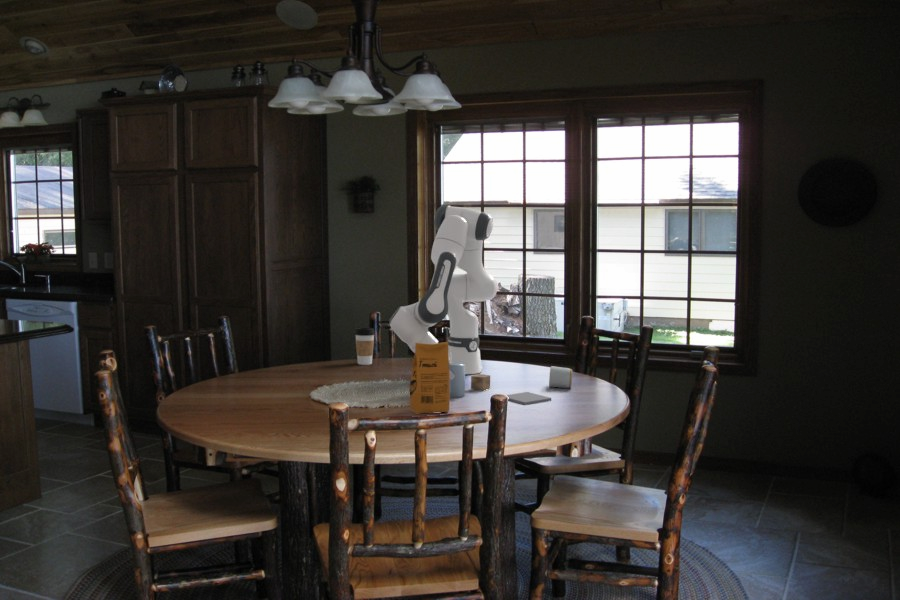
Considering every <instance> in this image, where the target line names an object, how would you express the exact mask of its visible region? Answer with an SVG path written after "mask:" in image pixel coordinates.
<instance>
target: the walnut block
mask: <svg viewBox="0 0 900 600" xmlns="http://www.w3.org/2000/svg"><path fill="white" fill-rule="evenodd" d="M470 380H471V381H470V390H471V389H473V391H478V390H481V391H480V392H485V391H487V390H486V389H488V390H490V389H491V375H489V374H484V373H483V374H482V373H476V374H472V375H471V376H470ZM489 388H490V389H489ZM484 390H485V391H484Z"/></svg>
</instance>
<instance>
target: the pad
mask: <svg viewBox="0 0 900 600" xmlns="http://www.w3.org/2000/svg"><path fill="white" fill-rule="evenodd" d="M506 395H507V396H508V397H509V400H510V402H513V401H514V403H517V402H518V404H520V403H521V405H524V404H527V405H531V403H532V404H537V402H538V403H543V402H542V401H544V402H549V401H548V400H550V401H552V397H550V396H545V395H541V394H537V393H533V392H529V391H524V392H518V393H512V394H506ZM509 400H508V401H509Z"/></svg>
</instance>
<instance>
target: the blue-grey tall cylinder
mask: <svg viewBox="0 0 900 600" xmlns="http://www.w3.org/2000/svg"><path fill="white" fill-rule="evenodd" d="M449 370H450V371H451V372H452V373H453V374H454V375H455V378H453V379H452V380H451V379H450V378H449V392H450V398H456V397H458V398H464V397H465V396H466V395H465V394H466V393H465V390H466V389H465V388H466V374H465V364H463V363H450V364H449Z"/></svg>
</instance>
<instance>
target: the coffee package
mask: <svg viewBox="0 0 900 600" xmlns="http://www.w3.org/2000/svg"><path fill="white" fill-rule="evenodd" d="M448 349H449V347H448V341H444V342H438V343H437V344H423V343H416V344H415V353H414V356H413V360H412V367H411V375H410V383H409V393H408V395H409V404H410V406H411V407H410V408H411V411H412V413H413V414H416V415H421V413H422V414H431V413H433V412H445V413H448V412H447V411H449V412H450V398H451V397H450V392H449V375H450V372H449V356H448Z"/></svg>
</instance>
